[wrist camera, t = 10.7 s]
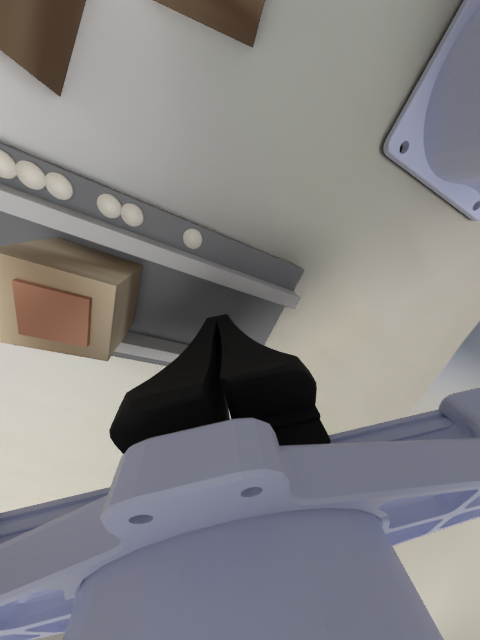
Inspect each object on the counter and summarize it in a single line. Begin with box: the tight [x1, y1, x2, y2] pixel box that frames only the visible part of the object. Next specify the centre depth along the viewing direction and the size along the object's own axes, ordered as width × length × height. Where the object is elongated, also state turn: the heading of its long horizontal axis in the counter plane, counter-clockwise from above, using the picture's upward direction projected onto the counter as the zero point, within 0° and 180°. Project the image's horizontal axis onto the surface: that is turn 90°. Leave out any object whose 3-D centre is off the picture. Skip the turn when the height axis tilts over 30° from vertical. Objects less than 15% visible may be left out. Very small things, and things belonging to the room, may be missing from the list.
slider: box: [0, 237, 143, 361], centre depth 9 cm, size 4×4×4 cm
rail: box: [0, 142, 304, 366], centre depth 12 cm, size 16×10×2 cm, turn 68°
